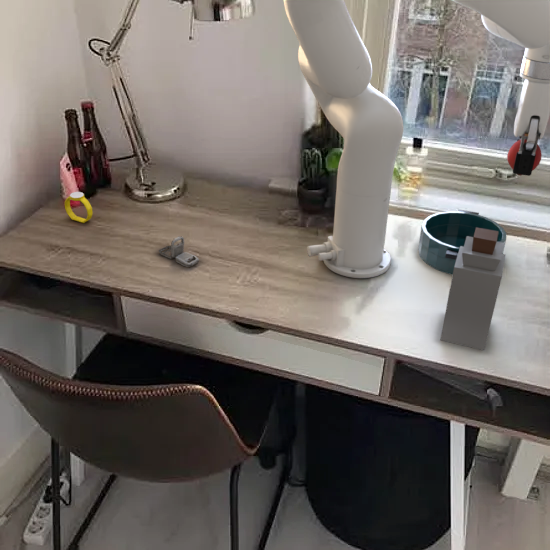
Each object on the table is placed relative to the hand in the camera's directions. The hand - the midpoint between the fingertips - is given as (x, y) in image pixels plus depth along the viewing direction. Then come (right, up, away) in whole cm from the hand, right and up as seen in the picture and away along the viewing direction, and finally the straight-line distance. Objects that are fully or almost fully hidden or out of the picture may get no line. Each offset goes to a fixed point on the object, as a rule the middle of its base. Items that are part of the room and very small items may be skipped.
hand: (521, 166), depth 120 cm
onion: (0, -2, +1) cm, 2 cm away
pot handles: (-10, -13, +2) cm, 17 cm away
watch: (-86, -9, +14) cm, 88 cm away
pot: (-10, -16, +4) cm, 20 cm away
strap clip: (-64, -17, +2) cm, 66 cm away
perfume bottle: (-15, -30, -16) cm, 37 cm away
